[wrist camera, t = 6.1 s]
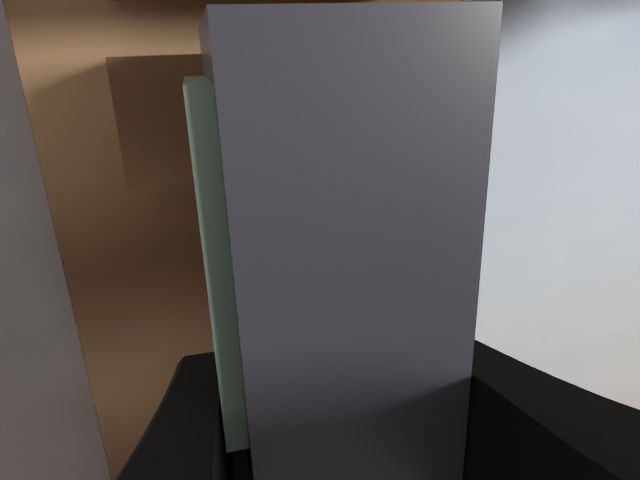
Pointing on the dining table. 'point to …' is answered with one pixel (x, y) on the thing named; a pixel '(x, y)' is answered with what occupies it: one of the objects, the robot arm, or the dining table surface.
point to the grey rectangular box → (344, 229)
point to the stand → (122, 188)
